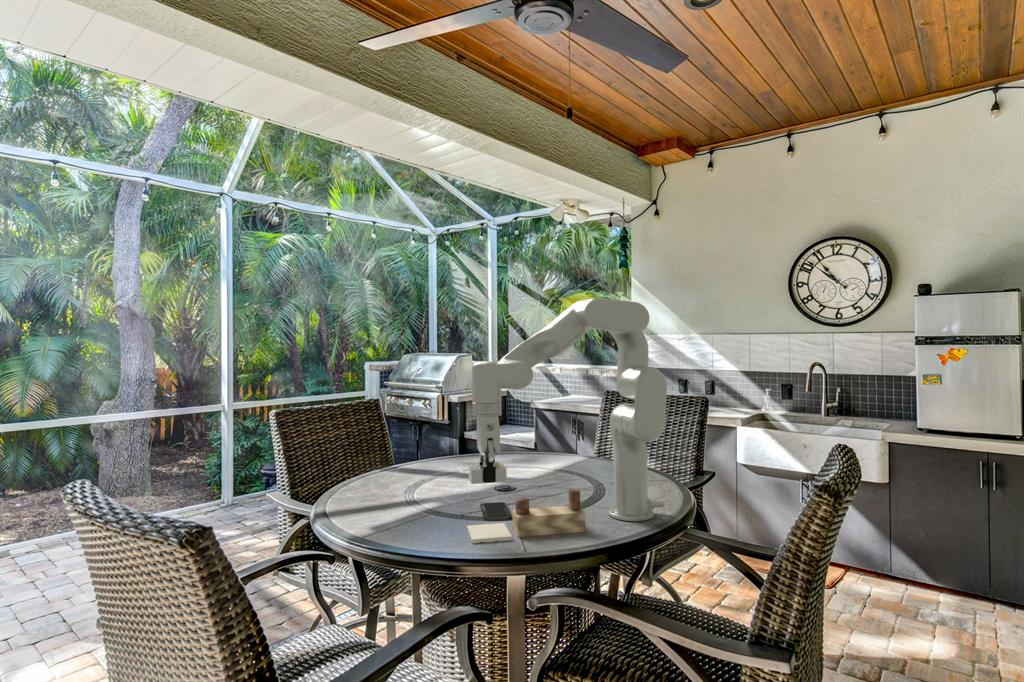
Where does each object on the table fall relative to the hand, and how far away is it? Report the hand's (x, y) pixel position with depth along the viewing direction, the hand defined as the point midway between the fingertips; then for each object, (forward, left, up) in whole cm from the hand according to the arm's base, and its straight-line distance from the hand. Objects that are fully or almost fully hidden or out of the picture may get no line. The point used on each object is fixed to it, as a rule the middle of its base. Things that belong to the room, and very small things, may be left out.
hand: (487, 478), depth 149 cm
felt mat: (0, 0, -14) cm, 14 cm away
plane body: (-16, 0, -14) cm, 22 cm away
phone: (-5, -19, -15) cm, 25 cm away
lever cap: (0, 0, 0) cm, 0 cm away
